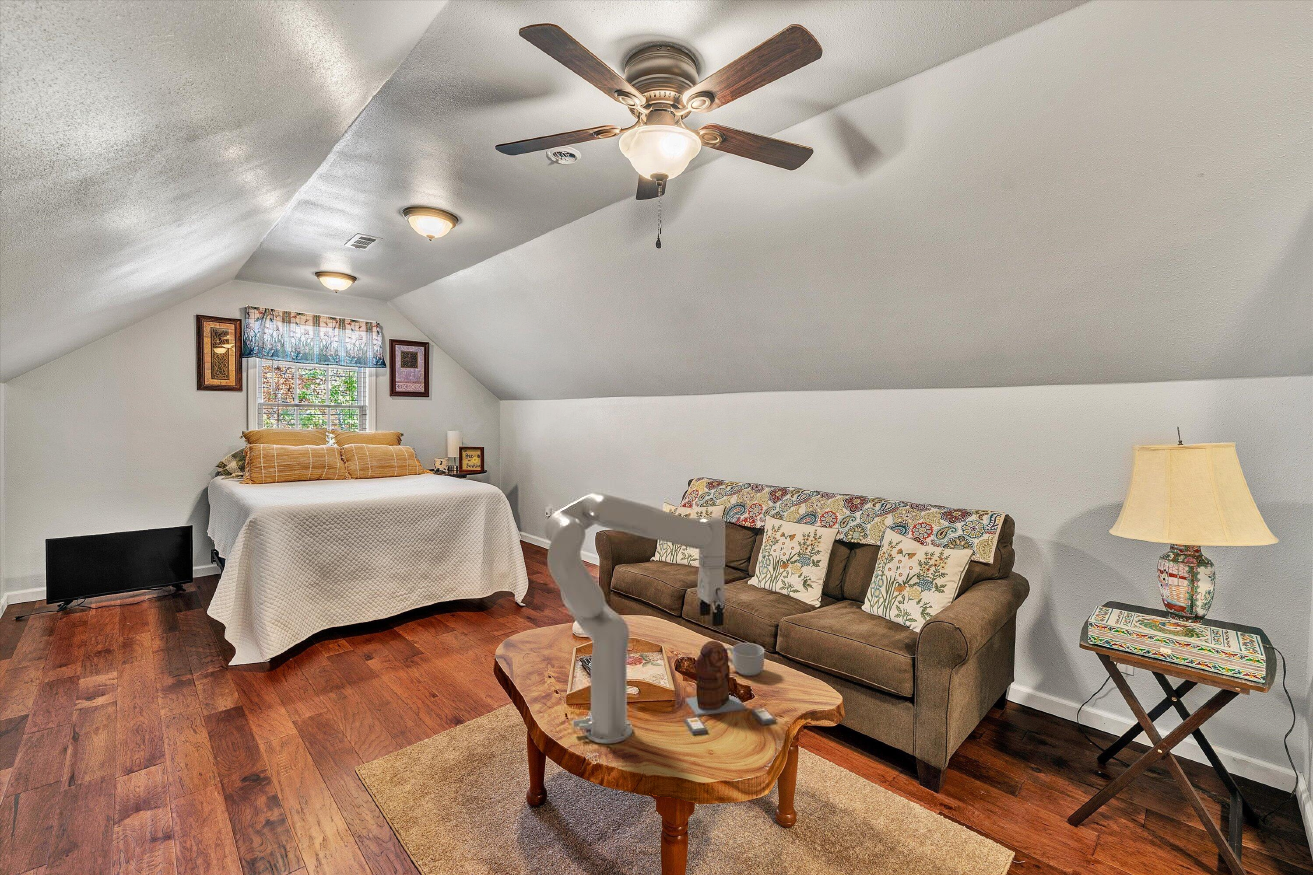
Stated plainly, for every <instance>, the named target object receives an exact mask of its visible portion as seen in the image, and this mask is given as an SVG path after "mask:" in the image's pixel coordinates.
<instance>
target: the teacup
mask: <svg viewBox="0 0 1313 875" xmlns="http://www.w3.org/2000/svg"><path fill="white" fill-rule="evenodd" d="M724 647H725V648H726V649H727V651H729V652H730V654H731V656H732V657H729V656H728V659H729V662H730V664H731V665H732V666H733V669H735V671H736V672H737V673H738V674H740V675H742V676H745V677H753V676H756V675H758V674H759V673H760V672H762V671H763V670H764V667H765V652H766V650H765V649H764V647H763V646H761V645H759V644H757V643H752V642H740V643H737V644H735V645H733V646H732V647H731V646H724Z"/></svg>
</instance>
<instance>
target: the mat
mask: <svg viewBox="0 0 1313 875" xmlns="http://www.w3.org/2000/svg"><path fill="white" fill-rule="evenodd" d="M736 697H737V696H736ZM736 697H734V696H731V695H729V700H726V704H724V705H723V706H721V708H719V709H716V710H705V709H700V708H699V707H698V703H697V696H694V697H687V698H686V697H685V702H686V703H687V705H688V706H689V707H690V709H691V710H692V712H693V713H694V714H695V715H696V716H695V717H700V716H701V717H702V716H706V715H714V714H716V715H717V714H722V713H729V712H736V711H743V710H747V707H746V705H744V704H743V702H742V701H741V700H740V699H739V698H738V697H737V698H736Z"/></svg>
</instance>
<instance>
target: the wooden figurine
mask: <svg viewBox="0 0 1313 875" xmlns="http://www.w3.org/2000/svg"><path fill="white" fill-rule="evenodd" d="M725 647H726V646H724V644H723V643H722V642H719V641H718V640H710V641H707V642H705V643H704V644H703V646H702V647H701V649H700V651H699V655H698V656H697V658H696V660H695V674H696V676H697V680H696V689H695V690H696V697H697V703H698V707H699V708H700V709H705V710H716V709H719V708H721V706H723V705H724V704H726V700H729V693H730V690H729V684H728V680H729V679H730V673H731V670H730V669H731V668H730V667H731V666H730V665H729V662H730V661H729V659H728V657H729V653H728V650H727V649H726V648H725Z"/></svg>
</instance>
